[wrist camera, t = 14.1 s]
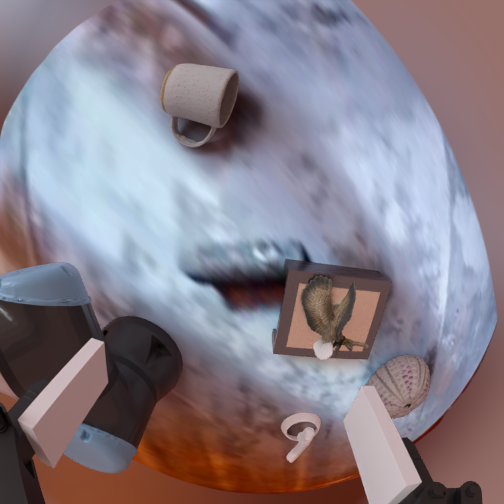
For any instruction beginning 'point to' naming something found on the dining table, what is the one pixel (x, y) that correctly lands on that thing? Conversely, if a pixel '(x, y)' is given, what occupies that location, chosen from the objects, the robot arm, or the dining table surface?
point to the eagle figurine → (328, 317)
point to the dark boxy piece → (363, 316)
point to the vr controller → (303, 436)
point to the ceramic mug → (199, 97)
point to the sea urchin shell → (401, 384)
